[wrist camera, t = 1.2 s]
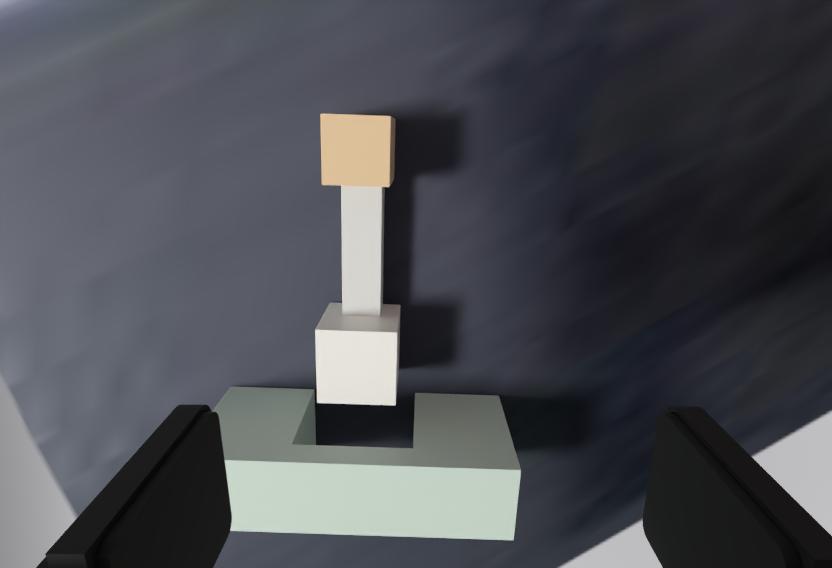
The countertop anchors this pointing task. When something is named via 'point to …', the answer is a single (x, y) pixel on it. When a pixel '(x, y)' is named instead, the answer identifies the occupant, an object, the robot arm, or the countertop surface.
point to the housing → (369, 470)
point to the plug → (359, 266)
